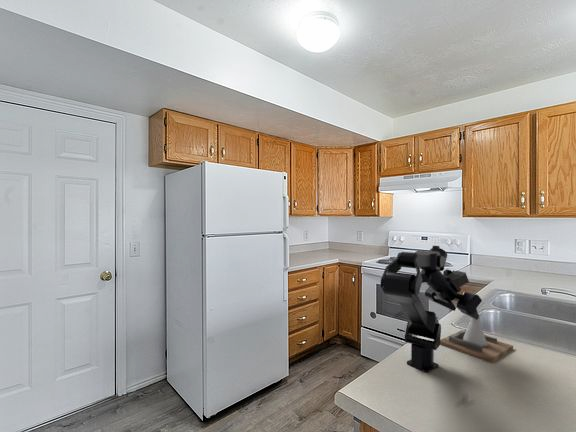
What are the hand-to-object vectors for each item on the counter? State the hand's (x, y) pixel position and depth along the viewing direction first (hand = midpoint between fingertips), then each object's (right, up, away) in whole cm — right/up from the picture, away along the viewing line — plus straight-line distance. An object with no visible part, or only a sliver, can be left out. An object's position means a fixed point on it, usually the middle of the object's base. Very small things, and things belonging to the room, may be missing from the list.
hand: (465, 313), depth 99 cm
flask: (+4, -10, +1) cm, 11 cm away
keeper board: (+4, -11, +1) cm, 12 cm away
